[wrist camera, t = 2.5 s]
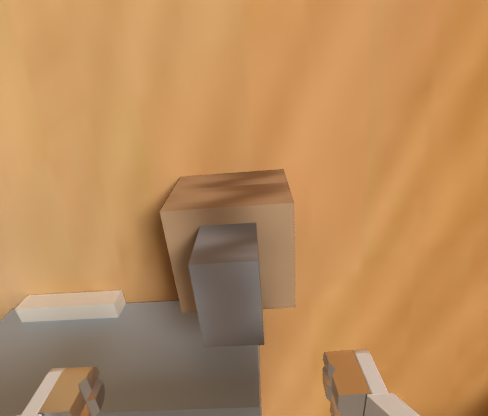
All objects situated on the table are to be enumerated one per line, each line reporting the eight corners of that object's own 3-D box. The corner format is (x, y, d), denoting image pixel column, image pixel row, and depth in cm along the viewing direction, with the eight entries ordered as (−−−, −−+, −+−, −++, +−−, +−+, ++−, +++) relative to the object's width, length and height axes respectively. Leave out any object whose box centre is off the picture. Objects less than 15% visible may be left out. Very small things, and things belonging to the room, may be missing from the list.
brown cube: (283, 169, 21) (305, 237, 13) (285, 256, 24) (304, 357, 15) (180, 176, 21) (137, 248, 13) (195, 261, 24) (168, 362, 16)
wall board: (255, 282, 25) (258, 390, 17) (258, 319, 26) (262, 433, 18) (5, 296, 26) (-108, 404, 18) (23, 330, 27) (-73, 443, 19)
